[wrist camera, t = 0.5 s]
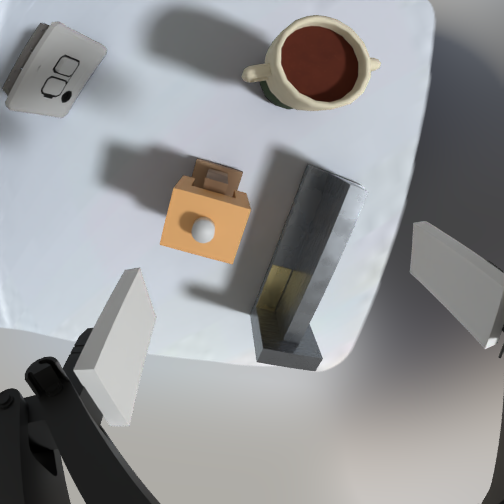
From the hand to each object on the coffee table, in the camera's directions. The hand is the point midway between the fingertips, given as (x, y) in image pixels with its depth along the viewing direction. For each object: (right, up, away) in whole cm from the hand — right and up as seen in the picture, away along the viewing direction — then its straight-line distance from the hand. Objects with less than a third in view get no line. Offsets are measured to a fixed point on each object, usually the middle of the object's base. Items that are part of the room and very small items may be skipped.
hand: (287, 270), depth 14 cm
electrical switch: (-22, +21, +13) cm, 33 cm away
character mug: (+2, +19, +16) cm, 25 cm away
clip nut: (-6, +5, +17) cm, 19 cm away
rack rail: (+5, +1, +24) cm, 24 cm away
